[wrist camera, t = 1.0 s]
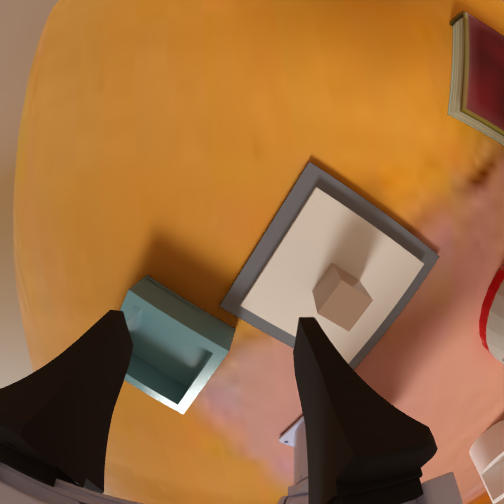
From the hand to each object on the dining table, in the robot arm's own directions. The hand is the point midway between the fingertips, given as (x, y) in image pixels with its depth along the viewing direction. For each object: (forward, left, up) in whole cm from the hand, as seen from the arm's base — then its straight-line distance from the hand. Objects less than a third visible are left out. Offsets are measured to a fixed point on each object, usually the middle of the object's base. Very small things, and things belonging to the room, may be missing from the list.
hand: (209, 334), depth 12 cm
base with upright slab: (-51, +7, -16) cm, 54 cm away
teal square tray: (+2, +13, -15) cm, 20 cm away
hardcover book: (-17, -29, -16) cm, 37 cm away
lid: (-8, -1, -15) cm, 17 cm away
